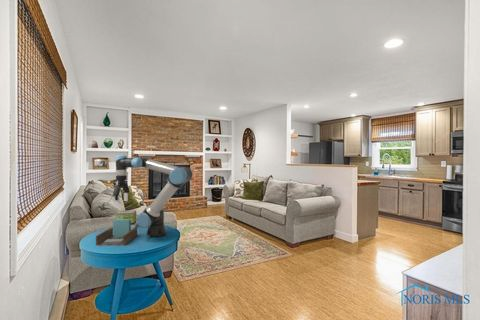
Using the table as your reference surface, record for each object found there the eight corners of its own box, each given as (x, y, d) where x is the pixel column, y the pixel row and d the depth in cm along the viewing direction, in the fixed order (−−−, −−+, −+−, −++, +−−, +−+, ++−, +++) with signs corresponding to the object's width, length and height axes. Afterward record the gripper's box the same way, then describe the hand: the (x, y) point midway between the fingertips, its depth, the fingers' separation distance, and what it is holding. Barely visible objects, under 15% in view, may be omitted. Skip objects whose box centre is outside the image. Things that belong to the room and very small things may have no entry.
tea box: (115, 229, 210) (115, 213, 210) (119, 226, 220) (118, 210, 220) (134, 228, 213) (133, 212, 213) (136, 225, 223) (136, 209, 223)
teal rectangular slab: (130, 238, 188) (130, 219, 188) (129, 239, 185) (128, 220, 185) (115, 238, 188) (115, 219, 188) (113, 239, 185) (113, 220, 185)
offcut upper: (124, 241, 177) (124, 238, 177) (121, 244, 172) (121, 241, 172) (107, 242, 176) (107, 239, 176) (103, 244, 171) (103, 241, 171)
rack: (137, 237, 190) (137, 227, 190) (124, 247, 169) (124, 235, 169) (111, 237, 190) (111, 227, 190) (95, 247, 170) (95, 235, 169)
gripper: (124, 174, 198) (124, 199, 199) (107, 176, 173) (107, 206, 174) (133, 174, 198) (133, 199, 199) (118, 176, 173) (118, 206, 174)
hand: (121, 202), depth 186 cm, fingers open, 13 cm apart
